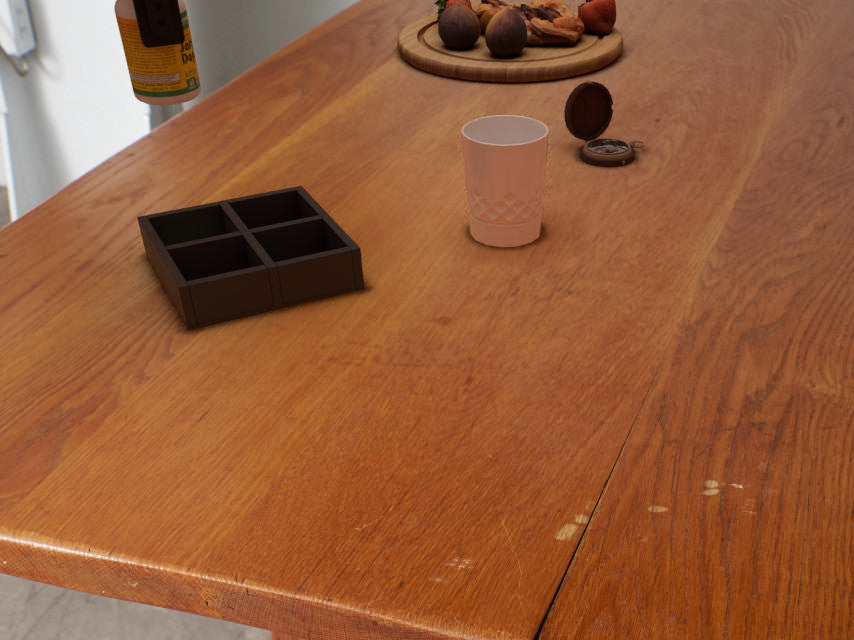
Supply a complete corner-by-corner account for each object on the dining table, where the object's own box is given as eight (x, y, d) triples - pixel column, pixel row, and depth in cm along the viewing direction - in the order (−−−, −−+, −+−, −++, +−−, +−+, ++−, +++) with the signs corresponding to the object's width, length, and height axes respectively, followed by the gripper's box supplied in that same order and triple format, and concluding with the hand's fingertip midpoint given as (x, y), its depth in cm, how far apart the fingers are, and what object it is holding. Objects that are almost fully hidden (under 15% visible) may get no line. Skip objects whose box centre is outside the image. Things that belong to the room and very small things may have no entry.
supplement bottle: (138, 88, 84) (108, -41, 78) (203, 84, 85) (179, -43, 79) (131, 108, 80) (100, -25, 74) (200, 104, 81) (175, -28, 75)
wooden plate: (628, 26, 155) (633, -34, 149) (614, 91, 130) (619, 23, 125) (424, 18, 158) (421, -41, 153) (373, 80, 134) (368, 12, 129)
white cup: (517, 211, 101) (518, 109, 95) (562, 239, 96) (566, 133, 90) (449, 229, 98) (445, 124, 92) (492, 259, 93) (490, 151, 86)
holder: (188, 333, 82) (178, 287, 80) (147, 259, 93) (136, 216, 90) (365, 291, 88) (360, 247, 85) (307, 226, 98) (301, 185, 96)
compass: (600, 173, 109) (604, 104, 104) (560, 150, 114) (562, 83, 109) (659, 159, 112) (666, 91, 107) (618, 138, 117) (622, 72, 113)
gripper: (18, -257, 73) (86, 16, 84) (57, -244, 61) (129, 70, 73) (124, -259, 75) (176, 5, 87) (181, -247, 64) (232, 56, 75)
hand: (154, 32), depth 80 cm, fingers closed on supplement bottle, 5 cm apart
